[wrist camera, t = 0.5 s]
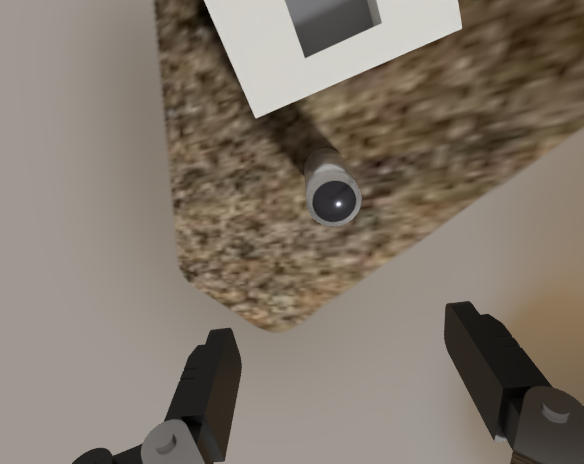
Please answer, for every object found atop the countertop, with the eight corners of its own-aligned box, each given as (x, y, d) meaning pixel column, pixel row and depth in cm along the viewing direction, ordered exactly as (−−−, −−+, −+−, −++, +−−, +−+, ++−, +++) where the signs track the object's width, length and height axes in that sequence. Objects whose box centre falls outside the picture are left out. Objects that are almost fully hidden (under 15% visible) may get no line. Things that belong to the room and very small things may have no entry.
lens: (337, 141, 35) (352, 167, 26) (350, 179, 37) (368, 216, 28) (297, 157, 36) (298, 187, 27) (312, 193, 38) (318, 234, 29)
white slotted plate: (406, -132, 26) (430, -173, 22) (437, 33, 31) (462, 28, 26) (203, -23, 29) (186, -40, 25) (260, 111, 34) (255, 118, 30)
